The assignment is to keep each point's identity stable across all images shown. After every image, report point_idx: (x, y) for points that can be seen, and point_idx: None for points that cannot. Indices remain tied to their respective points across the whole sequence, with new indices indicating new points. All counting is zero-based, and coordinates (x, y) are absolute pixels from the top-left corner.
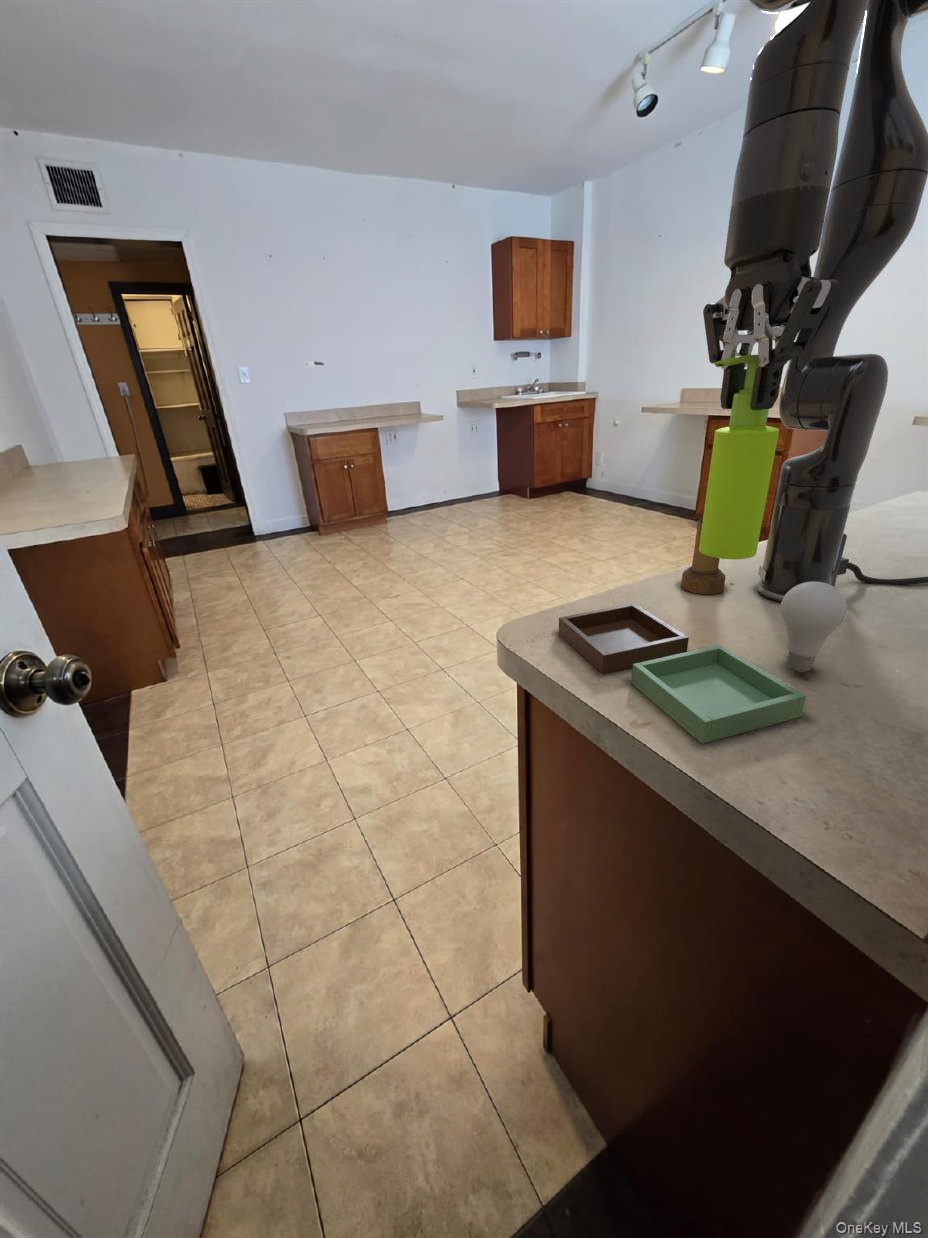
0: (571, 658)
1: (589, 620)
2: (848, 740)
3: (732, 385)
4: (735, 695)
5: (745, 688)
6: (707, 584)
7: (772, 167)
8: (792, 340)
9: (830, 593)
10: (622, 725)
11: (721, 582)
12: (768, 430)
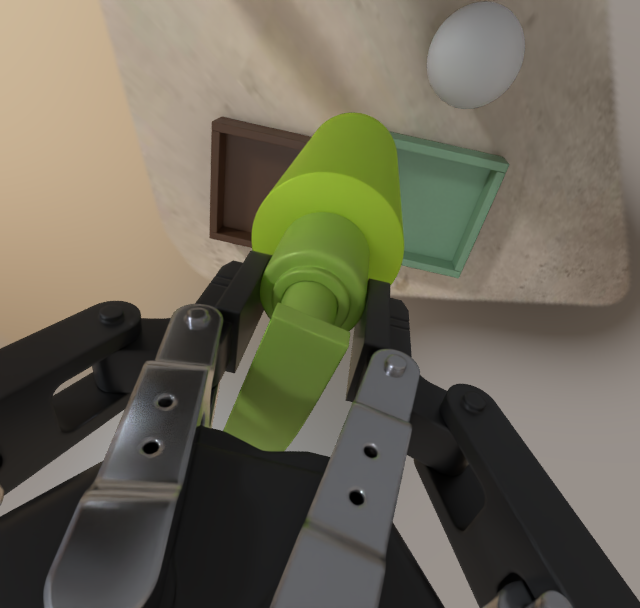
0: None
1: (221, 198)
2: (553, 156)
3: (251, 330)
4: (438, 187)
5: (438, 165)
6: None
7: None
8: (478, 491)
9: (506, 70)
10: (394, 294)
11: None
12: (394, 263)
